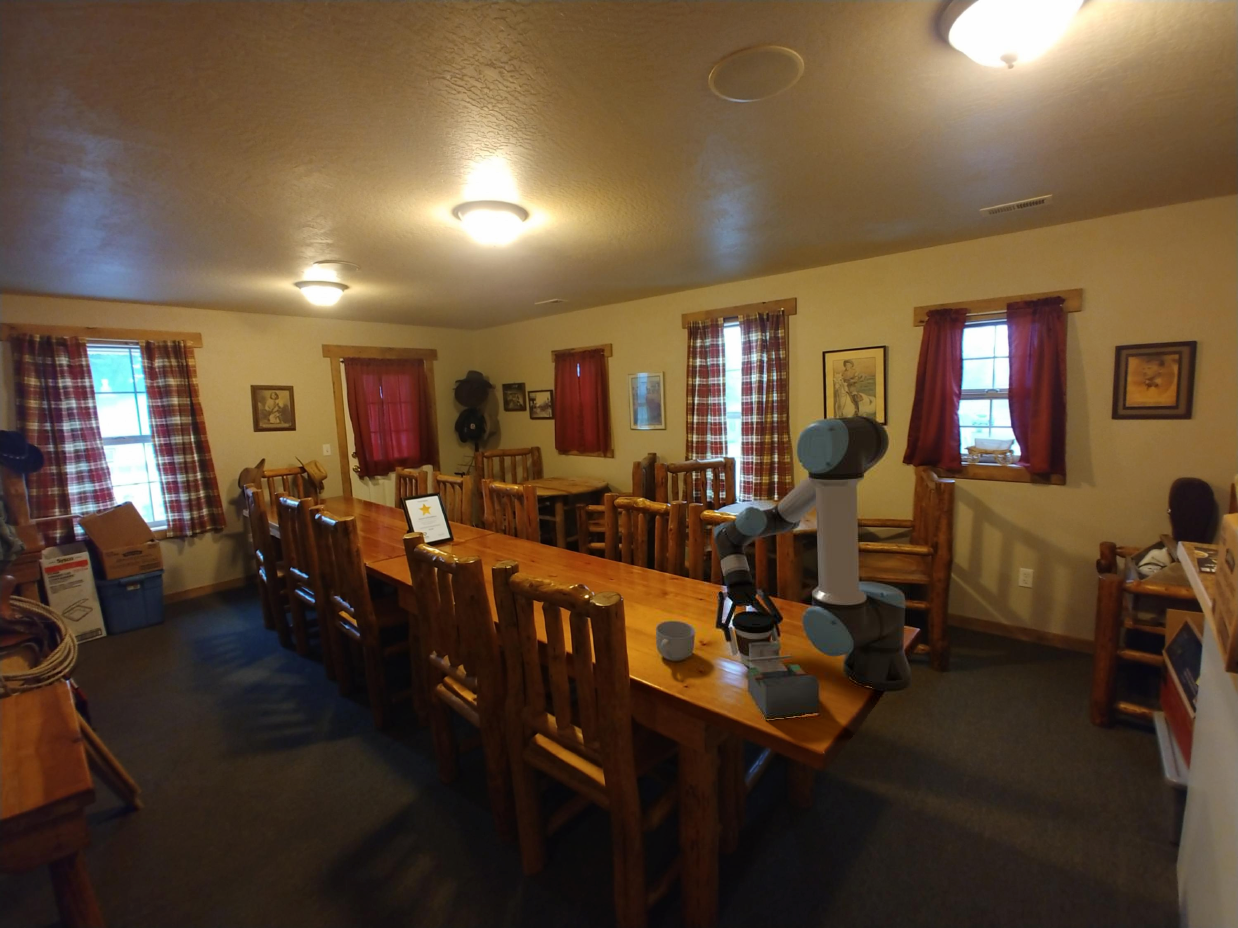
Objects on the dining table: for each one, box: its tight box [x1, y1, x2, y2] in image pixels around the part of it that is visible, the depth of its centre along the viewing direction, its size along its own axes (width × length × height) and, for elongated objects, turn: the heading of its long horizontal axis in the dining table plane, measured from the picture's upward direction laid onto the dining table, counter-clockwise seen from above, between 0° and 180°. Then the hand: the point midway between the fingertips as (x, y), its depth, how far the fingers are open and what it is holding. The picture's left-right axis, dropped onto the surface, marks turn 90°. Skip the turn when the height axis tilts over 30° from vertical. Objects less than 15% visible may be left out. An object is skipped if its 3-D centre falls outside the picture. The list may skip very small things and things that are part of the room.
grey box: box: [747, 663, 820, 720], centre depth 117 cm, size 12×12×8 cm
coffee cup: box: [731, 610, 774, 667], centre depth 135 cm, size 11×11×12 cm
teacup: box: [655, 620, 696, 662], centre depth 140 cm, size 14×11×8 cm
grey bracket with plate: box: [746, 640, 792, 679], centre depth 125 cm, size 6×11×8 cm, turn 95°
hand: (757, 651), depth 133 cm, fingers closed on coffee cup, 11 cm apart
